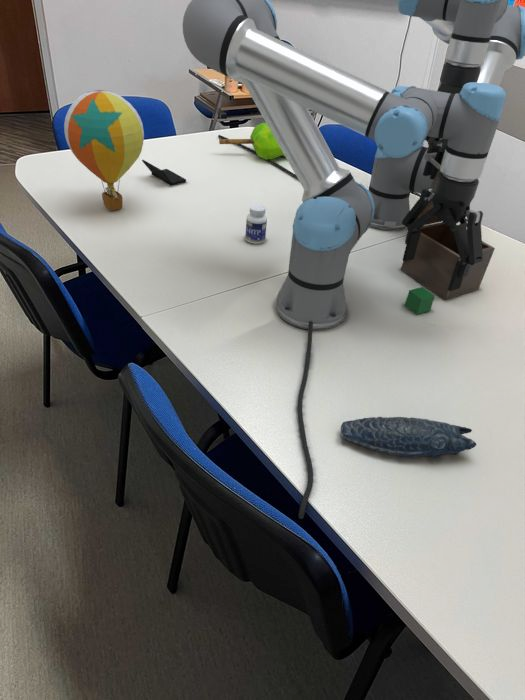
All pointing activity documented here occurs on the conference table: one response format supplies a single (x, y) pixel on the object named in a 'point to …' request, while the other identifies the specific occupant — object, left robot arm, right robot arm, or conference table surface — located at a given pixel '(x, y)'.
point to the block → (419, 300)
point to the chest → (443, 262)
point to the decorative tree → (260, 142)
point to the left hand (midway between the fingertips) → (429, 273)
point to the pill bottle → (256, 224)
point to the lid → (431, 158)
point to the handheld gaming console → (165, 175)
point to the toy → (105, 138)
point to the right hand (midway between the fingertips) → (431, 176)
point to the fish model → (407, 436)
